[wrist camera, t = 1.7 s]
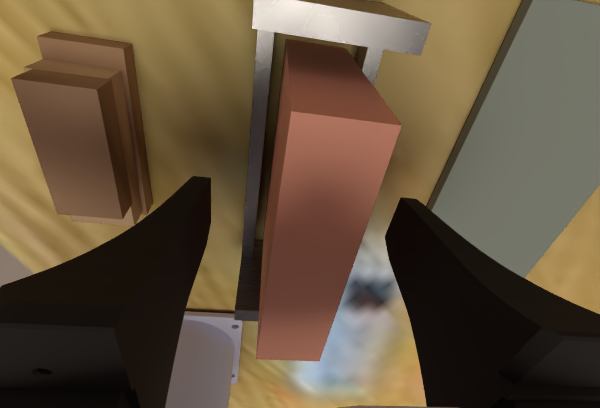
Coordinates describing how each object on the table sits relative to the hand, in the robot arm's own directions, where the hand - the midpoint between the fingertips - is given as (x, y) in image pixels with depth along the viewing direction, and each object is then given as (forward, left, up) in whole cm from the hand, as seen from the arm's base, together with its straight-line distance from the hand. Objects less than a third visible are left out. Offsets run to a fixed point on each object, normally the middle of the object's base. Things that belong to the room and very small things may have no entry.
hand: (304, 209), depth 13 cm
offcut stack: (0, +9, -5) cm, 10 cm away
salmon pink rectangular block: (0, 0, -5) cm, 5 cm away
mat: (0, -12, -5) cm, 13 cm away
